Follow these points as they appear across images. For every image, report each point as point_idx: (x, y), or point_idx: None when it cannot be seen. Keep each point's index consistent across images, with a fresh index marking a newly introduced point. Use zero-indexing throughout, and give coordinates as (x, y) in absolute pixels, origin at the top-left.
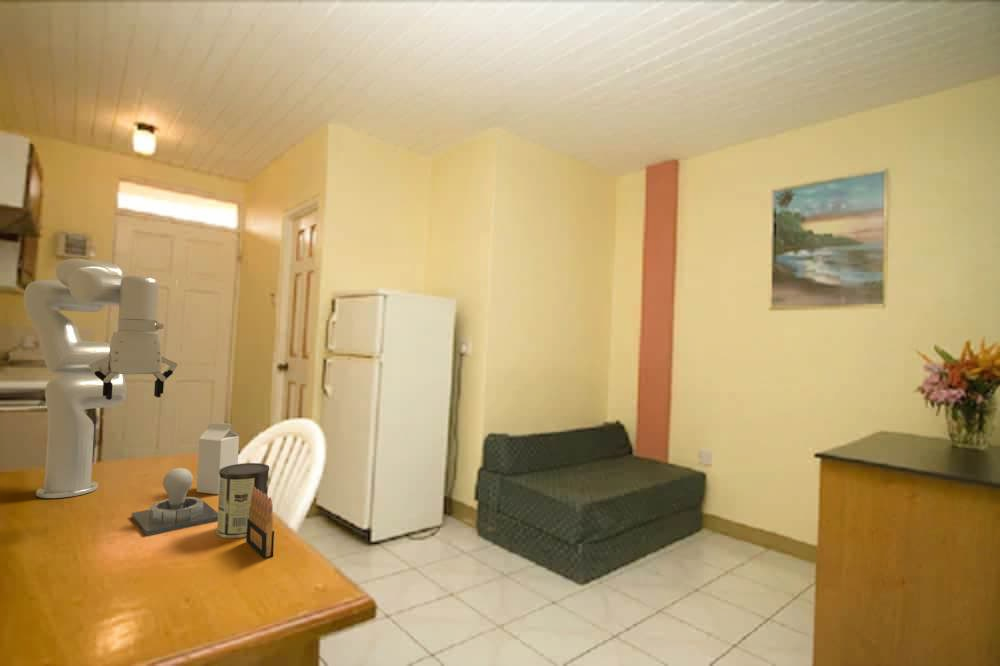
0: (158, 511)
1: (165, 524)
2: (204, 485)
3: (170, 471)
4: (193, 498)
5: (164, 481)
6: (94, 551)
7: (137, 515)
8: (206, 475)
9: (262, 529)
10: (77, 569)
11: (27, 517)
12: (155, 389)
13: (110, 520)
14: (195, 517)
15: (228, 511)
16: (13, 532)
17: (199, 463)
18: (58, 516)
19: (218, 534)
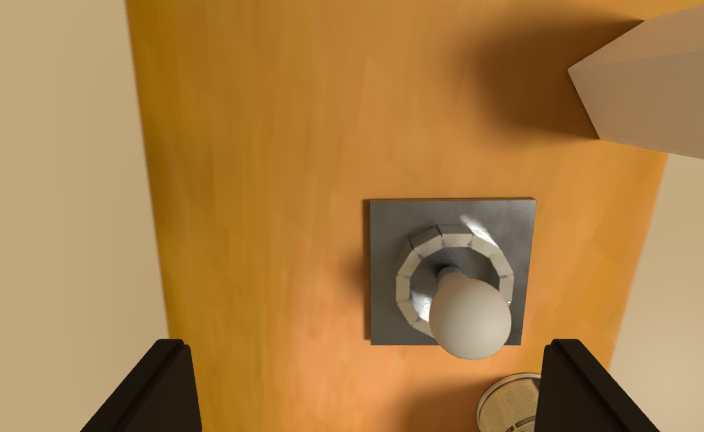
0: (404, 315)
1: (410, 328)
2: (591, 95)
3: (454, 335)
4: (500, 268)
5: (431, 328)
6: (285, 358)
7: (376, 230)
8: (614, 101)
9: None
10: (259, 415)
11: (165, 38)
12: (574, 425)
13: (328, 193)
14: None
15: None
16: (152, 151)
17: (627, 69)
18: (229, 79)
19: (476, 416)
